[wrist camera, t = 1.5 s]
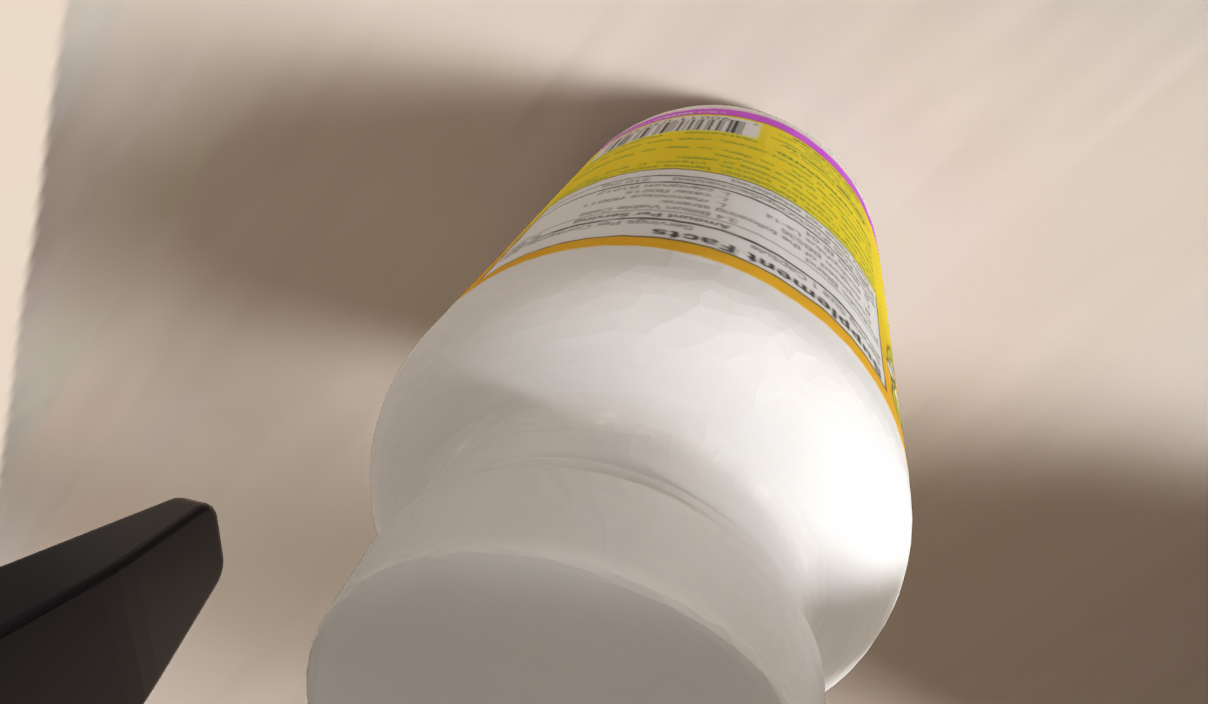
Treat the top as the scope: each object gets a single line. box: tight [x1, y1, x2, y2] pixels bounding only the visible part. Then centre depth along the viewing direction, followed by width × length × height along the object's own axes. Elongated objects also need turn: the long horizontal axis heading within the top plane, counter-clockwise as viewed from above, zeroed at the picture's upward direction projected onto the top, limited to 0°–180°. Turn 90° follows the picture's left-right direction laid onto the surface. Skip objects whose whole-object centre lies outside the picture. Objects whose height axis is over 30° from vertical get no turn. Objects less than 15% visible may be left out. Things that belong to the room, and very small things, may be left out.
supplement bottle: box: [307, 105, 912, 704], centre depth 13 cm, size 7×7×13 cm
